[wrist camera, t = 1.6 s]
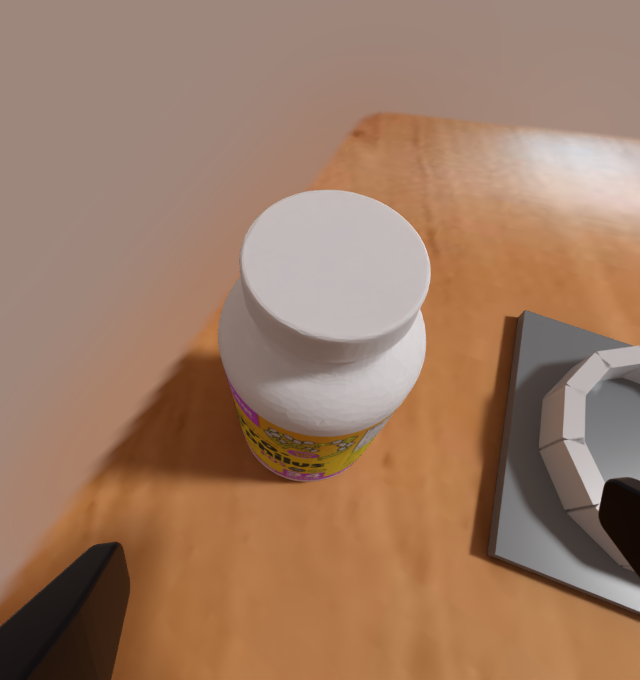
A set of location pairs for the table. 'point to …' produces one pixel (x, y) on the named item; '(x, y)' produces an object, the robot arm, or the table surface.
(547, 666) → the table surface
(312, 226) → the supplement bottle
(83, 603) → the robot arm
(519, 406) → the socket plate
